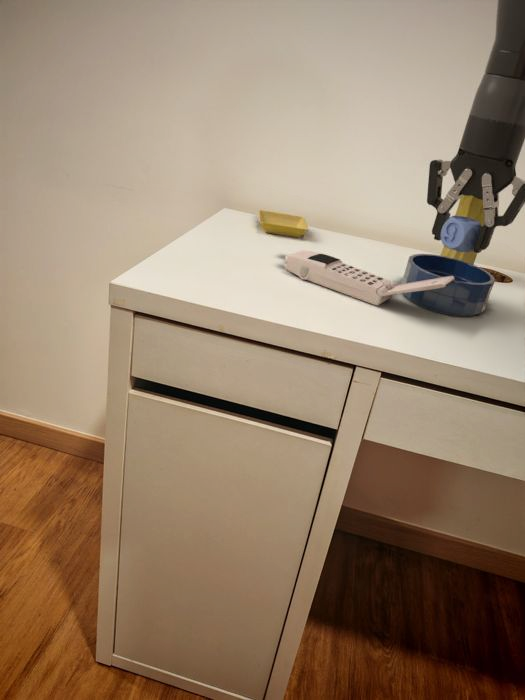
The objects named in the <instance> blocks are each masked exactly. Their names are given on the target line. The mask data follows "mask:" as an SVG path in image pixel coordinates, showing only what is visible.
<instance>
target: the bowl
mask: <svg viewBox="0 0 525 700" xmlns="http://www.w3.org/2000/svg"><path fill="white" fill-rule="evenodd" d="M405 266H406V267H405V270H404V274H403V278H402V280H401V284H406V283H412V282H418V281H424V280H430V279H436V278H440V277H448V276H454V279H455V280H454V281H453V282H452V283H451V284H449V285H448V286H446V287H442V288H436V289H430V290H423V291H415V292H408V293H402V294H403V296H404V297H405V298H407V300H409V301H410V302H412V303H414V304H416V305H417V306H420V307H421V308H424V309H426V310H429V311H432V312H436V313H440V314H442V315H443V314H444V315H449V316H456V317H472V316H476V315H479V314H481V313H483V312H484V311H485V308H486V307H487V303H488V301H489V298H490V296H491V293H492V291H493V288H494V285H495V282H496V280H495V277H494V275H492V274H491V273H490V272H489V271H487V270H485V269H483V268H482V267H479V266H477V265H475V264H474V265H473V264H470V263H467V262H464V261H461V260H457V259H454V258H450V257H445V256H441V254H440V255H439V254H432V253H415V254H412V255H410V256H408V260H407V263H406V265H405Z"/></svg>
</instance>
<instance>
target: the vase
mask: <svg viewBox="0 0 525 700" xmlns="http://www.w3.org/2000/svg"><path fill="white" fill-rule="evenodd" d="M488 200H489V199H488ZM454 216H463V217H467V218H471V219H474V220H476V221H478V222H480V224H481V227H482V226H483V225H484V224H485V211H484V208H483V200H480V199H477V198H475V197H474V196H466V195H462V197H461V198H460V199H459V201H458V205H457V209H456V212H455V214H454ZM440 256H445V257H450V258H454V259H457V260H461V261H464V262H467V263H470V264H473V265H475V261H476V259H477V256H478V253H476V252H474V249H473V250H472V251H470V252H460V251H456V250H452V249H450V248H447V247H445V246H444V245H443V247H442V250H441V252H440Z"/></svg>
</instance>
